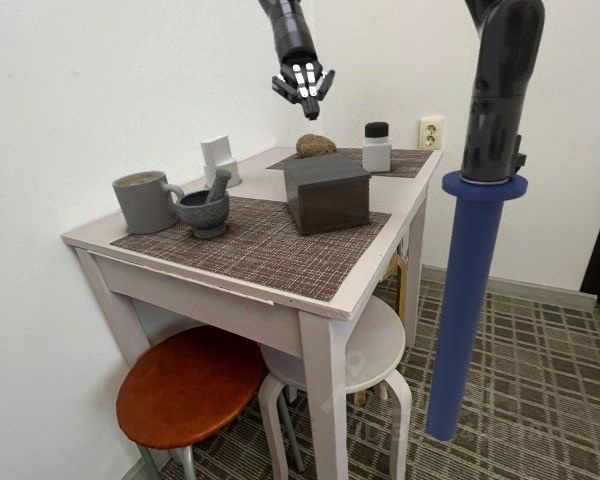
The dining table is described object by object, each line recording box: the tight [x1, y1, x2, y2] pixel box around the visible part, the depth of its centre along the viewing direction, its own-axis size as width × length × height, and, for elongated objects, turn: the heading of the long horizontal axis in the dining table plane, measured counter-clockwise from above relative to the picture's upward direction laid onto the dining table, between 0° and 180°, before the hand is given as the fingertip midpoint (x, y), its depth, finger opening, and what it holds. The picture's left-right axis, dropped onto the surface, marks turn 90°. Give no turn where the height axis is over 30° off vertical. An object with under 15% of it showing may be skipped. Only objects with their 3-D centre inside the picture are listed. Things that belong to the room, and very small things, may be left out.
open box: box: [282, 165, 370, 236], centre depth 64 cm, size 16×13×9 cm
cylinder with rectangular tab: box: [200, 134, 241, 189], centre depth 88 cm, size 9×9×12 cm
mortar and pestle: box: [175, 169, 231, 239], centre depth 61 cm, size 11×9×12 cm
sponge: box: [295, 133, 338, 158], centre depth 105 cm, size 13×8×20 cm
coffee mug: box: [111, 170, 186, 235], centre depth 67 cm, size 13×10×10 cm
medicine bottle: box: [362, 121, 392, 173], centre depth 87 cm, size 7×7×12 cm
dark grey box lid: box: [282, 152, 373, 190], centre depth 61 cm, size 17×13×1 cm
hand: (313, 117), depth 61 cm, fingers closed
